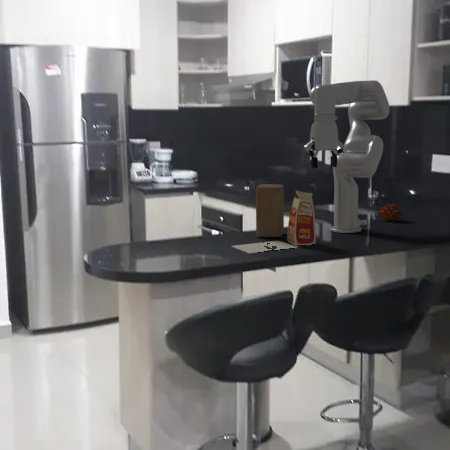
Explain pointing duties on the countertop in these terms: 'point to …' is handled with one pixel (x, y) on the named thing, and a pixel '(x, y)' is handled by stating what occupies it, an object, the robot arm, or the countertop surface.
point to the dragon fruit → (390, 212)
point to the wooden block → (269, 210)
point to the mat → (262, 246)
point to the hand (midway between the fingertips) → (324, 167)
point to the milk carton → (302, 220)
